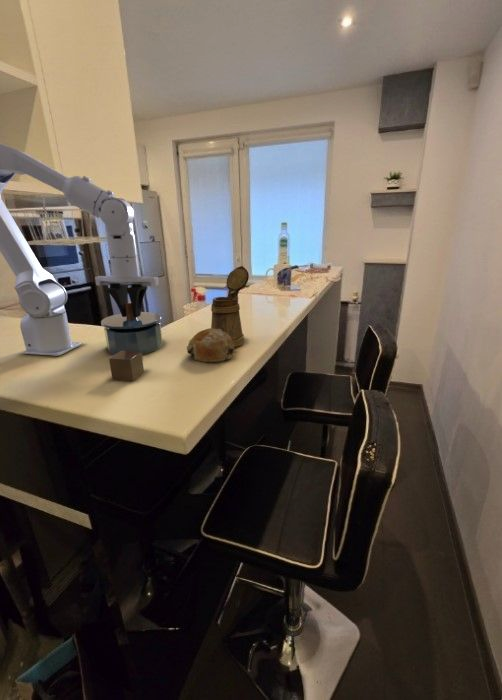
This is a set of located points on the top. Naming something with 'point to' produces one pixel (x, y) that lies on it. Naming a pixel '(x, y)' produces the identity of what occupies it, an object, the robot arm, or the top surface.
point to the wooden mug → (230, 307)
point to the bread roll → (211, 346)
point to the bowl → (134, 339)
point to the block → (126, 365)
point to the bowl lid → (130, 319)
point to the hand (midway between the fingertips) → (131, 316)
